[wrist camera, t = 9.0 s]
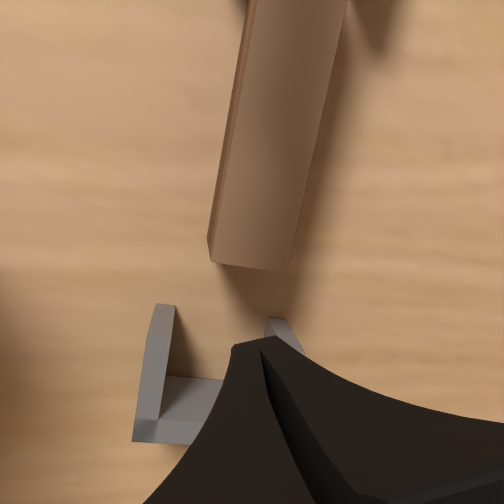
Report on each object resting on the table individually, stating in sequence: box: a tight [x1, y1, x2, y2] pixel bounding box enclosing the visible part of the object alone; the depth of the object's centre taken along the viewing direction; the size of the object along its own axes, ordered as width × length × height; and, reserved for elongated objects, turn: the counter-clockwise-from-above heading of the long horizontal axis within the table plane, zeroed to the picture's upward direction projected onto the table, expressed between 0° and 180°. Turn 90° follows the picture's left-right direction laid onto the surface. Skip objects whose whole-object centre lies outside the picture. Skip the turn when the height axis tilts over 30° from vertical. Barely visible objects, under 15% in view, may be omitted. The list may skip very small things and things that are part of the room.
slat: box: [207, 0, 348, 273], centre depth 15 cm, size 3×14×5 cm, turn 169°
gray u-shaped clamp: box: [132, 304, 305, 445], centre depth 18 cm, size 7×5×4 cm
